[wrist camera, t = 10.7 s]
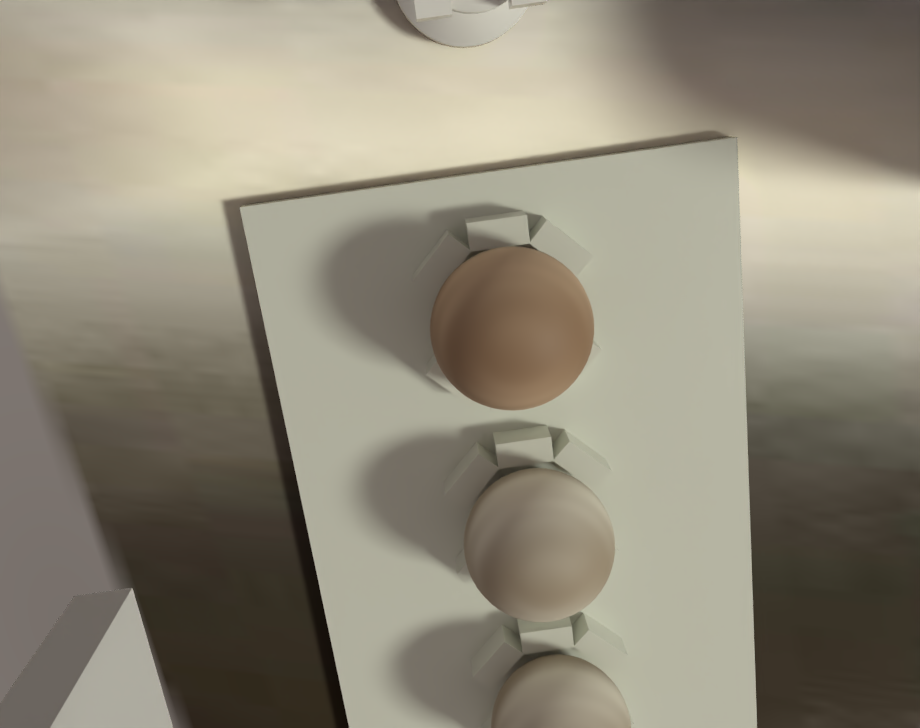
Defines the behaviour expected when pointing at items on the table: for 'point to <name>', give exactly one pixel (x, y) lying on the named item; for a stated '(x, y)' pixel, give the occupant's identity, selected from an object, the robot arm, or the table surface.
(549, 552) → the egg cream mid
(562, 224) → the tray
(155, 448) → the table surface
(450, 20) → the egg cup
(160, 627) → the table surface
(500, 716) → the pale ball
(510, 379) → the light brown ball
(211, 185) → the table surface
